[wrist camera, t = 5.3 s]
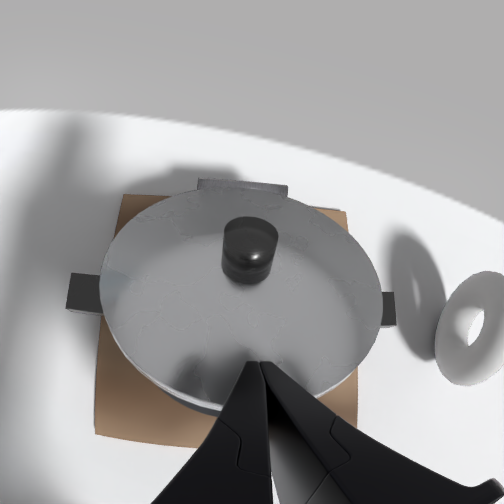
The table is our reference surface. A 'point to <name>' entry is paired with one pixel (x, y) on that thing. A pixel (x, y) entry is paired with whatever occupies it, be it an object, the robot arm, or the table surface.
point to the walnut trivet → (153, 398)
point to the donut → (459, 322)
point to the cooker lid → (238, 291)
